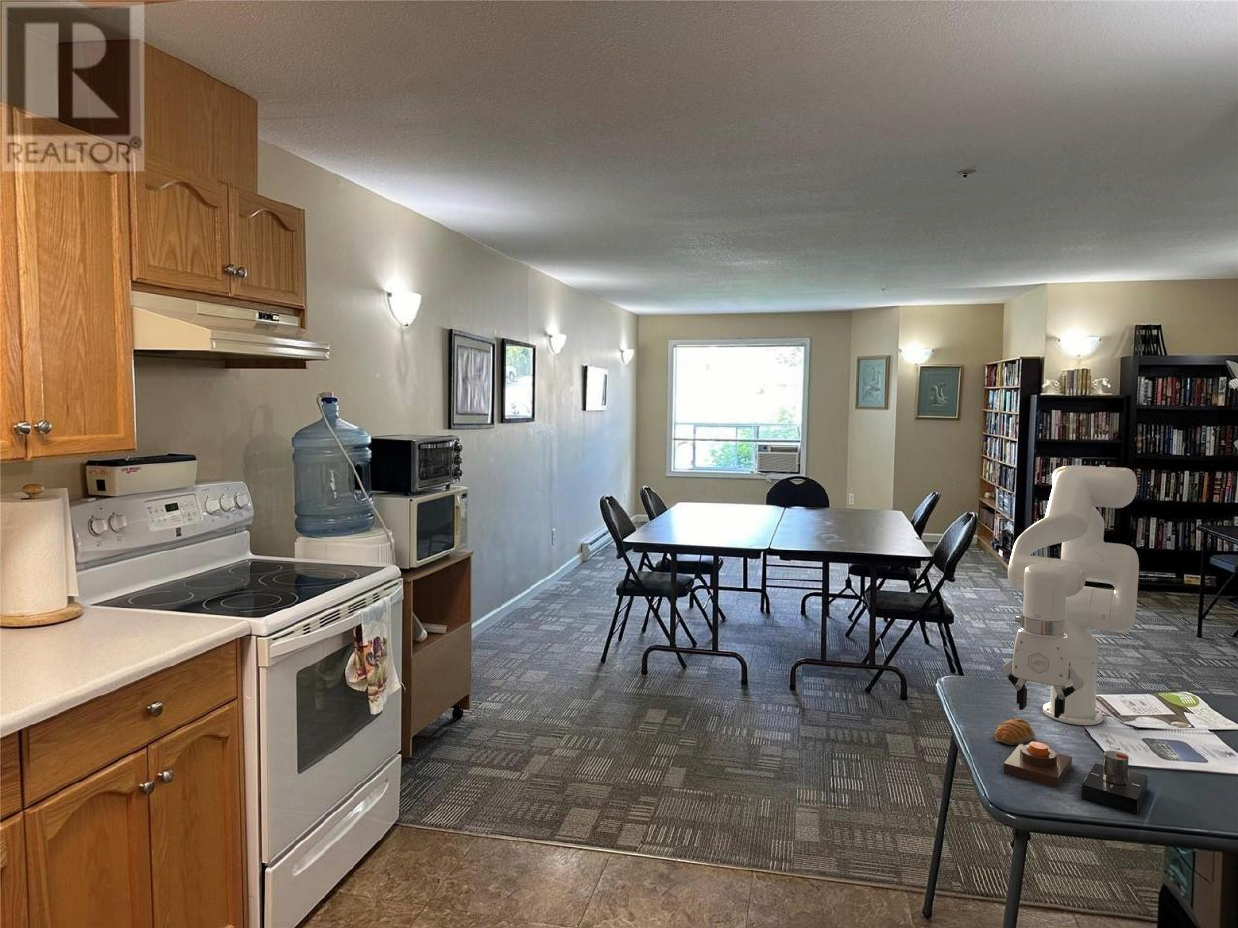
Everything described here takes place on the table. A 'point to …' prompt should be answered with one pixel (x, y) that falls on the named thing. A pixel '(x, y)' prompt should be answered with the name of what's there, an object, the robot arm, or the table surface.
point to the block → (1038, 766)
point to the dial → (1115, 767)
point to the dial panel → (1114, 790)
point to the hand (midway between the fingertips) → (1040, 711)
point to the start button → (1038, 748)
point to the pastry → (1014, 732)
